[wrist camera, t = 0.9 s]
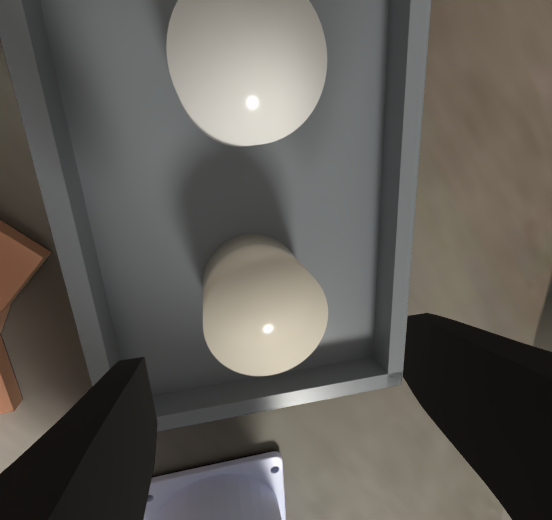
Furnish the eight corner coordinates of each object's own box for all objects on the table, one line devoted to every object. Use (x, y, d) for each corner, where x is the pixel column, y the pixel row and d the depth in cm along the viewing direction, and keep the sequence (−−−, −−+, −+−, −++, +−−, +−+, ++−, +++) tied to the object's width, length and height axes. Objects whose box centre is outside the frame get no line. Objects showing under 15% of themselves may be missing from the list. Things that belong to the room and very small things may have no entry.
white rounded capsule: (294, 144, 14) (327, 141, 10) (185, 149, 13) (178, 148, 10) (290, 19, 13) (326, -35, 9) (168, 18, 12) (153, -44, 8)
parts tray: (377, 356, 20) (401, 384, 17) (119, 402, 17) (106, 441, 15) (399, -83, 13) (441, -133, 11) (-3, -113, 11) (-59, -186, 8)
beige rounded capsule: (299, 317, 17) (328, 365, 13) (208, 330, 16) (210, 385, 12) (297, 229, 15) (327, 254, 11) (197, 239, 14) (194, 269, 11)
